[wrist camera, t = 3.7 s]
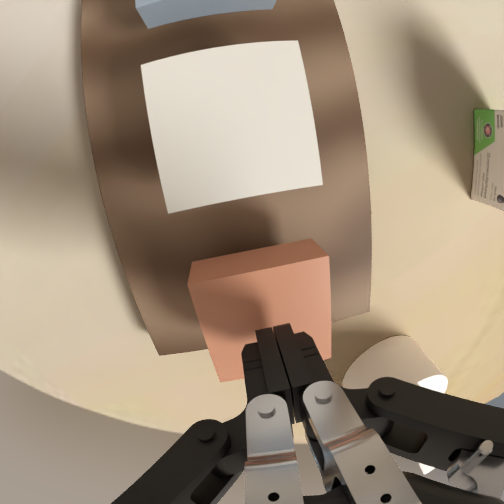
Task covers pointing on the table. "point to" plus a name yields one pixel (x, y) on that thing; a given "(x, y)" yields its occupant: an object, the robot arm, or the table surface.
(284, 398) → the robot arm
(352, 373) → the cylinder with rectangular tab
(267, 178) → the off-white key
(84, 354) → the table surface
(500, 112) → the ink box
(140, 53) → the key panel
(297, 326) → the rust key
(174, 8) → the slate-blue key
